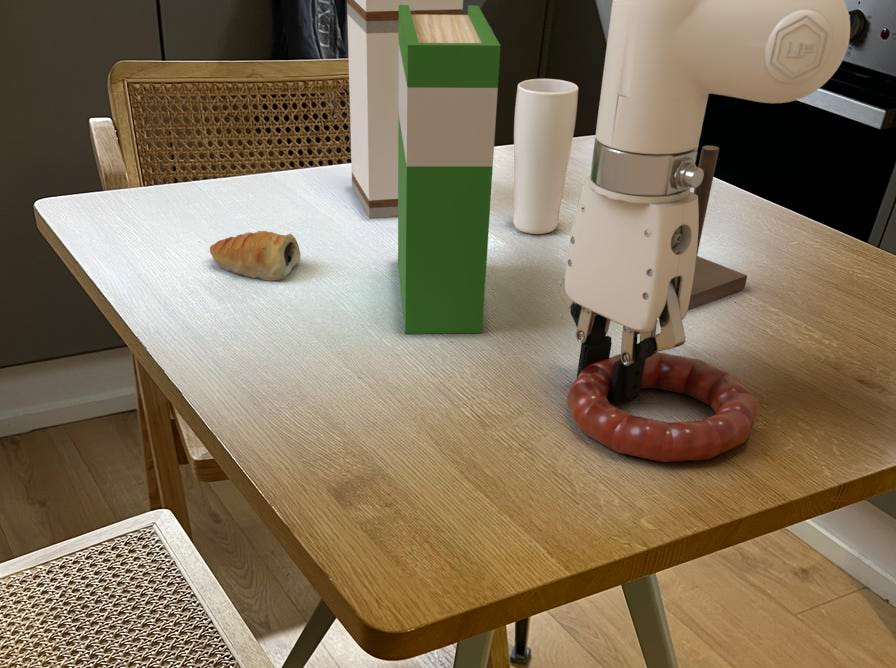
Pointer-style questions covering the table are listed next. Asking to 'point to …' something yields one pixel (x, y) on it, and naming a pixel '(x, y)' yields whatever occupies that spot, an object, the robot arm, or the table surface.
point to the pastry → (257, 254)
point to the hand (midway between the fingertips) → (606, 390)
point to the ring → (658, 436)
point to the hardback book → (445, 167)
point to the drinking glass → (542, 151)
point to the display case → (379, 96)
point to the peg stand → (707, 275)
